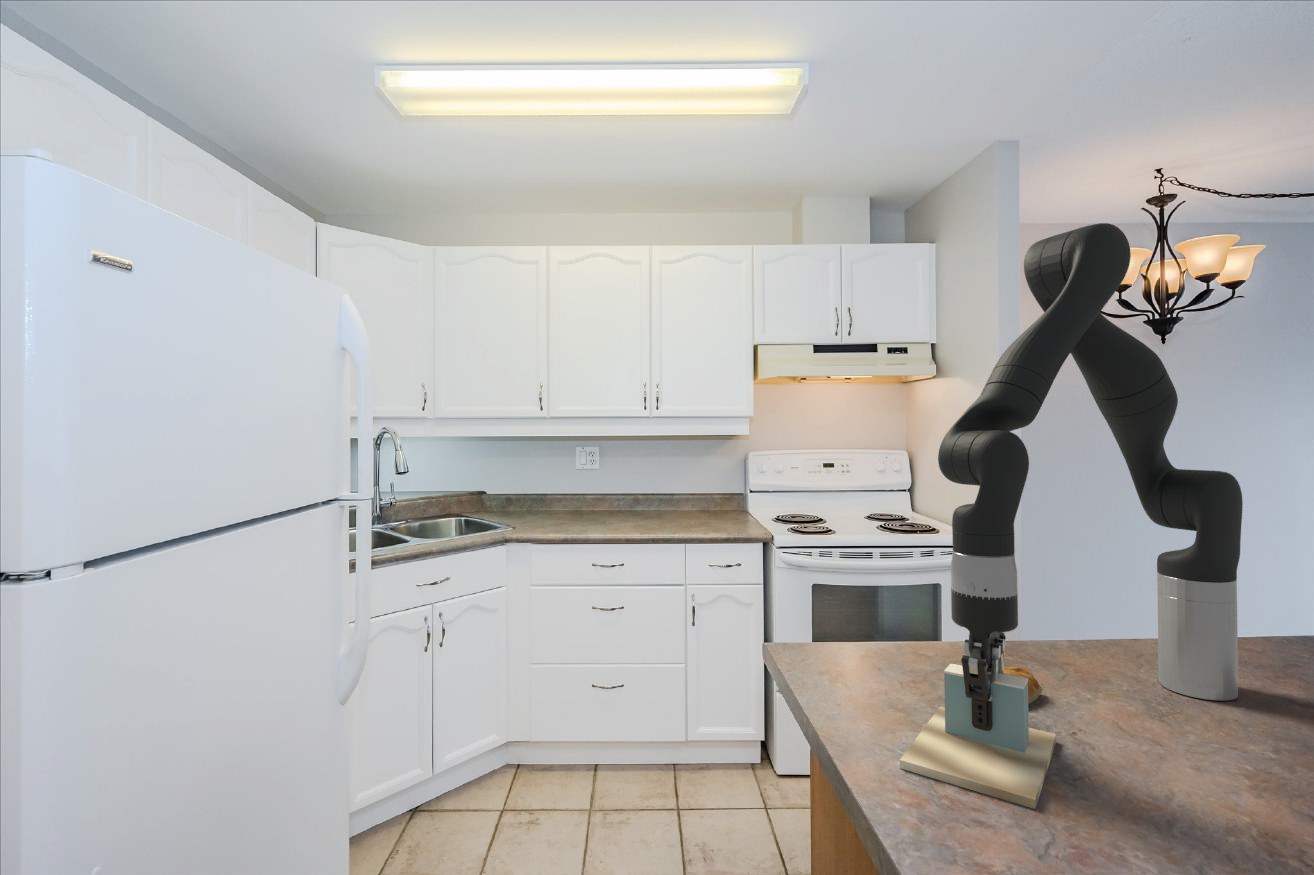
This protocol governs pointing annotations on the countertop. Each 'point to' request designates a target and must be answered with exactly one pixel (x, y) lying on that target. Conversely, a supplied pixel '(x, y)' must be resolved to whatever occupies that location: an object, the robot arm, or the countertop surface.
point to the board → (981, 762)
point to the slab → (1005, 710)
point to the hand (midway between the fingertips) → (985, 721)
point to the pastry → (1033, 684)
